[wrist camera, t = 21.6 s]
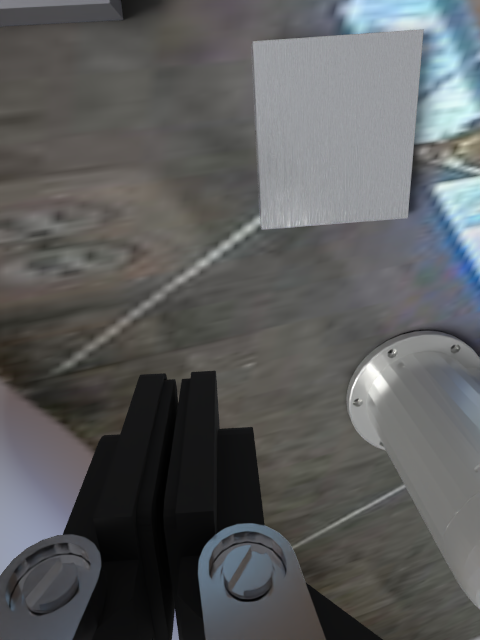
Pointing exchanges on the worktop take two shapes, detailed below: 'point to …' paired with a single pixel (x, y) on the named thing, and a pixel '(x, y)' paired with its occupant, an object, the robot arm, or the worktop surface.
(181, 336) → the worktop surface
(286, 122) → the cover plate
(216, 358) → the worktop surface
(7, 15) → the slot holder
